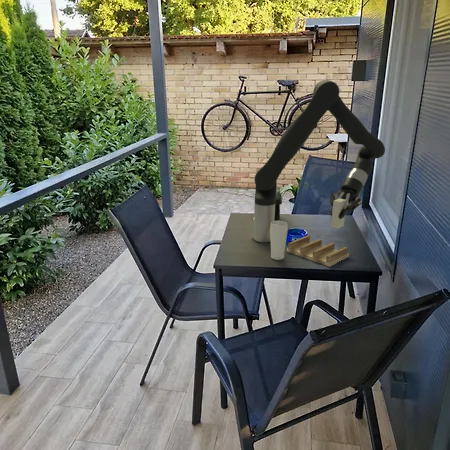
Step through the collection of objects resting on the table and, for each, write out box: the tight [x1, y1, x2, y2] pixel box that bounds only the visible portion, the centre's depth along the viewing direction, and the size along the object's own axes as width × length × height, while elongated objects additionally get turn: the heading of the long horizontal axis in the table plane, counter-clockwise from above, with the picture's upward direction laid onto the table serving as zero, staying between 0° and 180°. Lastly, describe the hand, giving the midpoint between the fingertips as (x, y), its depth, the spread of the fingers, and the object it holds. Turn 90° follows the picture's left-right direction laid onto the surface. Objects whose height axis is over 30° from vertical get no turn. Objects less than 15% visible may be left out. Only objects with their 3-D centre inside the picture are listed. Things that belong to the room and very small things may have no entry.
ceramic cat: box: [274, 184, 283, 221], centre depth 204 cm, size 20×6×20 cm, turn 179°
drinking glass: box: [270, 220, 288, 261], centre depth 158 cm, size 7×7×15 cm
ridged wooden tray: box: [286, 234, 349, 267], centre depth 164 cm, size 21×14×4 cm, turn 44°
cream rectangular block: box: [330, 198, 346, 229], centre depth 157 cm, size 3×5×11 cm, turn 135°
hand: (335, 216), depth 156 cm, fingers closed on cream rectangular block, 3 cm apart
